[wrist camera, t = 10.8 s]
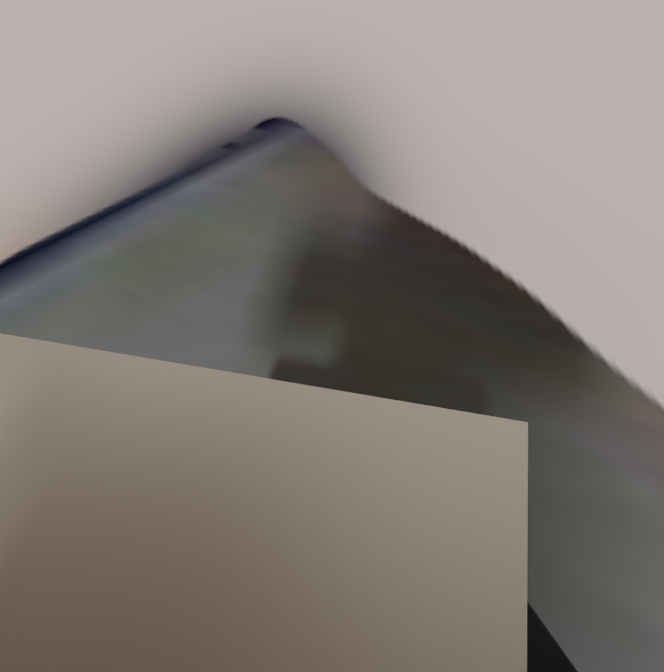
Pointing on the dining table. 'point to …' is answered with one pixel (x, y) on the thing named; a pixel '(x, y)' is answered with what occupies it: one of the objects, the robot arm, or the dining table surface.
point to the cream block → (250, 523)
